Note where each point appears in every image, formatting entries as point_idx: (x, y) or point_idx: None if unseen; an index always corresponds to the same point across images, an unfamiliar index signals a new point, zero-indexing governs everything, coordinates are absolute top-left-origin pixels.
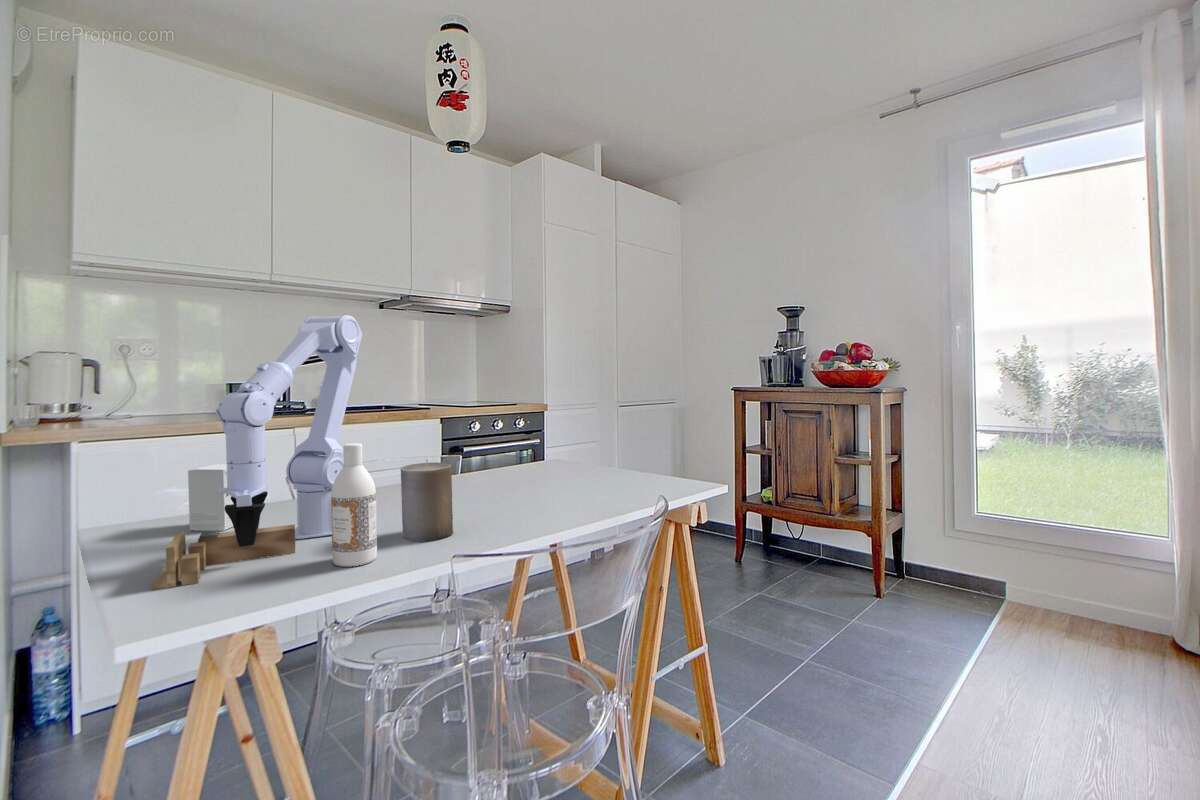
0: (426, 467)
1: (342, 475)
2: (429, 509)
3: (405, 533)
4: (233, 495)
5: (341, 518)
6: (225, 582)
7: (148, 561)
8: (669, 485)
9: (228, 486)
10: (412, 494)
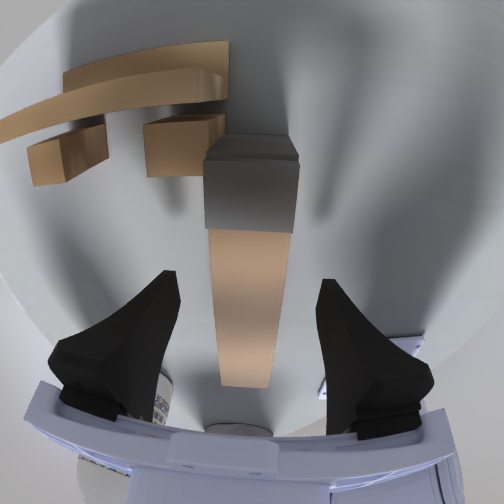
0: None
1: (83, 495)
2: None
3: (226, 430)
4: (76, 429)
5: None
6: (70, 216)
7: (377, 5)
8: None
9: (163, 490)
10: None
